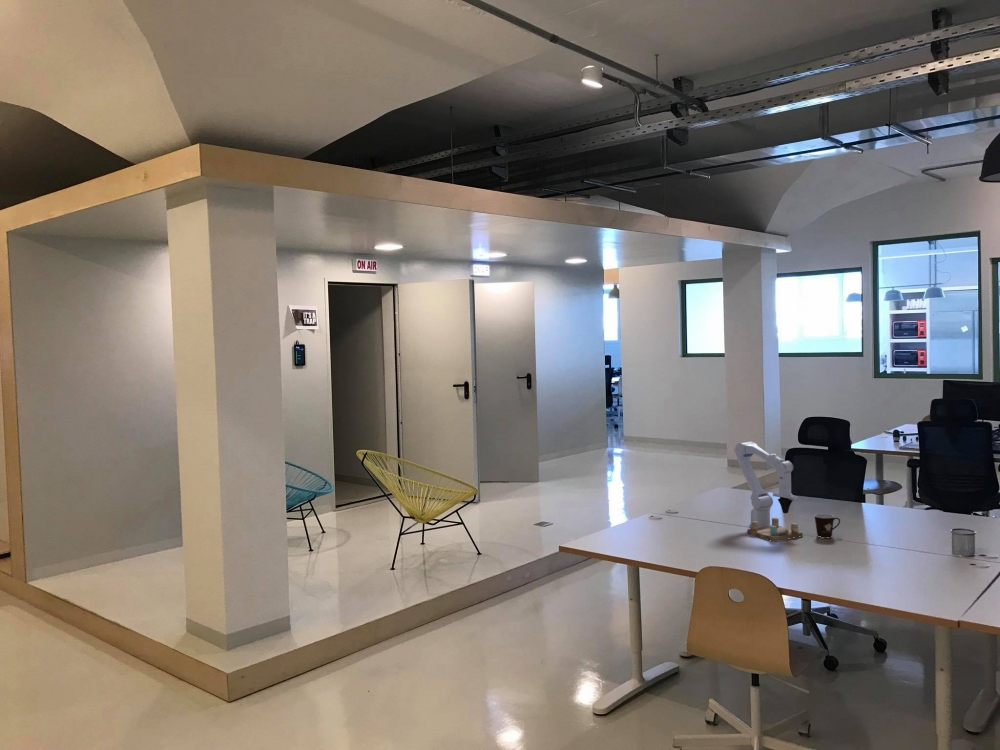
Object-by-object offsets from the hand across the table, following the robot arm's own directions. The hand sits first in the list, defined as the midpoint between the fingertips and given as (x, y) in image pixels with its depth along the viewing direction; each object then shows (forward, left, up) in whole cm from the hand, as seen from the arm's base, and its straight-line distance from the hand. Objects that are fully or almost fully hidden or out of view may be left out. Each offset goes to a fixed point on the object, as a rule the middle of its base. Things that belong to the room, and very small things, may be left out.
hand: (785, 512), depth 379 cm
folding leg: (+9, -12, -7) cm, 16 cm away
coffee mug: (+17, +10, -10) cm, 22 cm away
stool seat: (+2, -9, -9) cm, 13 cm away
